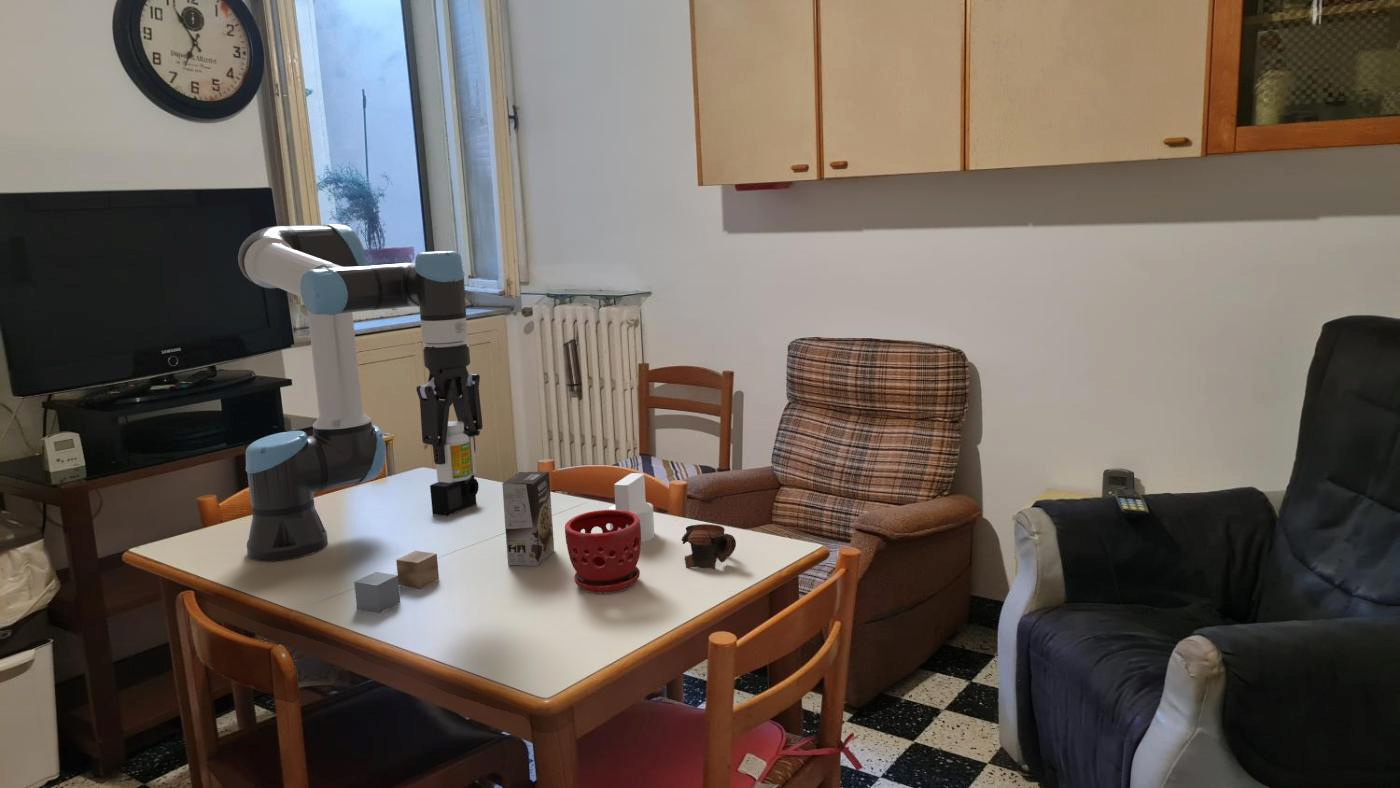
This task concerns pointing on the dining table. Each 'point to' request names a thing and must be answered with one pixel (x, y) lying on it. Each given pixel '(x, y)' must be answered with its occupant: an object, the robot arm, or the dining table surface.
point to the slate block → (377, 592)
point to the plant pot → (604, 550)
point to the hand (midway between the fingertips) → (457, 476)
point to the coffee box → (528, 518)
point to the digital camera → (453, 496)
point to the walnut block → (417, 569)
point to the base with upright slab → (634, 503)
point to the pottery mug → (707, 545)
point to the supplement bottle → (459, 451)
